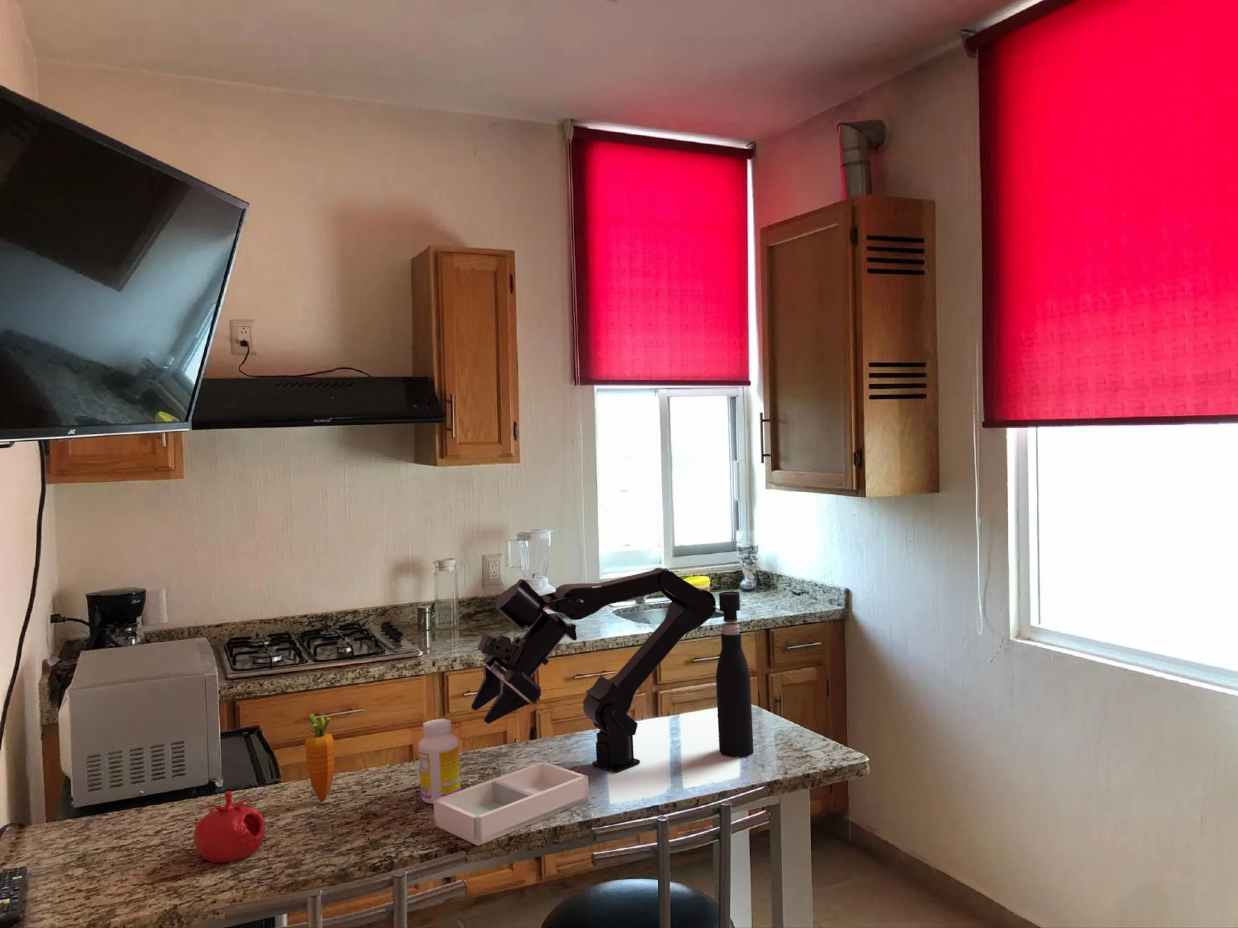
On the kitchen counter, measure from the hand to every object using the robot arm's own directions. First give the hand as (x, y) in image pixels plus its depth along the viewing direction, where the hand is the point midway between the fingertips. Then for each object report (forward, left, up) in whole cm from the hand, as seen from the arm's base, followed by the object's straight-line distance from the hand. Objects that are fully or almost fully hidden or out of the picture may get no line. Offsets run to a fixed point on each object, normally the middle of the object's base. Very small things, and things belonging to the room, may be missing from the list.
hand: (479, 715), depth 157 cm
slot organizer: (+3, +12, -13) cm, 18 cm away
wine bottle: (-42, +22, -13) cm, 50 cm away
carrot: (+21, -18, -13) cm, 30 cm away
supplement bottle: (+7, -3, -13) cm, 15 cm away
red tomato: (+40, -9, -13) cm, 43 cm away
